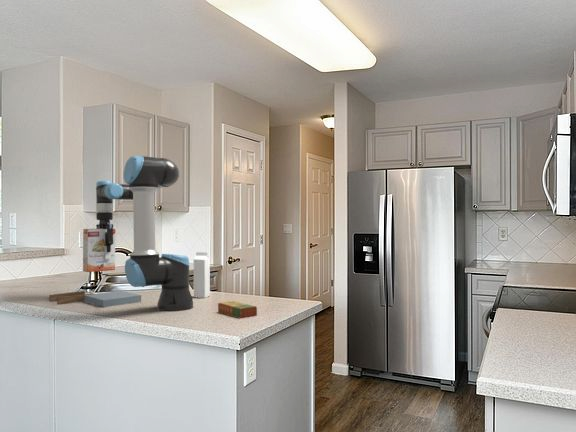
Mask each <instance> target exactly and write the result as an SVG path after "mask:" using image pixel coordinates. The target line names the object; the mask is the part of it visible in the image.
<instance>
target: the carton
mask: <svg viewBox="0 0 576 432" xmlns="http://www.w3.org/2000/svg"><path fill="white" fill-rule="evenodd" d="M217 312H218V313H219V312H220V314H223V313H224V314H223V315H226V314H227V316H230V315H231V316H230V317H234V318H237V319H245V317H246V318H250V316H251V317H256V316H257V315H258V307H257V306H255V305H252V304H248V303H243V302H240V301H235V300H231V301H223V302H218V303H217ZM255 315H256V316H255Z"/></svg>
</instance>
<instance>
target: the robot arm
mask: <svg viewBox="0 0 576 432" xmlns="http://www.w3.org/2000/svg"><path fill="white" fill-rule="evenodd" d="M122 176H123V181H124V183H125V184H123V183H116V182H115V183H114V182H112V181H110V180H97V182H96V184H95V185H96V187H95V190H96V191H95V192H96V193H95V196H96V197H95V201H96V204H95V206H96V210H95V211H96V213H95V214H96V220H97V221H99V222H98V223H97V224H96V225H95V226H96V229H107V232H105V243H106V244H105V245H104V246H105V259H111V245H112V244H113V229H114V224H113V223H111V220H113V219H114V218H113V217H114V216H113V215H114V213H113V207H114V205H113V204H114V203H113V200H123V201H125V200H127V201H128V200H129V201H130V200H131V201H132V202H133V203H132V204H133V206H132V209H133V210H132V211H133V217H132V218H133V221H132V222H133V251H132V252H131V253H130V254H129V258H128V259H127V260H125V262H124V273H125V277H126V280H127V281H128V284H129V285H130V286H131V287H133V288H145V287H153V286H161V292H160V295H159V298H158V301H157V308H156V309H158V310H160V311H166V312H167V311H171V312H173V311H175V312H176V311H184V310H190V309H192V308H193V307H194V301H193V296H192V293H191V291H190V260H189V259H190V258H189V257H188V256H186V255H180V254H171V253H161V257H160V252H159V251H157V250H156V222H155V221H156V214H155V213H156V212H155V211H156V209H155V207H156V206H155V202H156V201H155V199H156V198H155V193H156V192H157V191H158V190H161V189H163V188H169V187H171V186H173V185H175V184H176V183H177V181H178V180H179V176H180V172H179V168H178V166H177V165H176V163H175V162H174V161H172V160H171V159H168V158H165V157H154V156H153V157H152V156H144V155H135V156H134V155H132V156H130V157H129V158H128V159H127V161H126V163H125V165H124V168H123V175H122Z"/></svg>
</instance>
